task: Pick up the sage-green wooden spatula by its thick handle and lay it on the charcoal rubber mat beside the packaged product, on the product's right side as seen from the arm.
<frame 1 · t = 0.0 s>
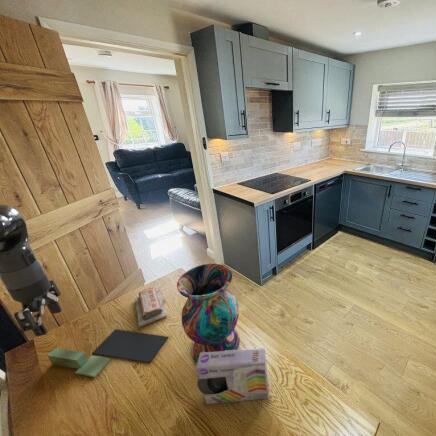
hand: (50, 322, 70), 20 cm above the table, tool pointing down, fingers open, 8 cm apart
packaged product: (150, 308, 102), on the table
cake pan box: (236, 395, 71), on the table
mat: (131, 345, 86), on the table
vase: (216, 344, 87), on the table
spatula: (78, 364, 79), on the table
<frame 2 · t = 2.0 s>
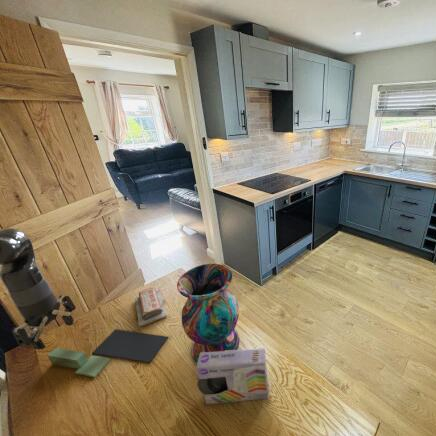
hand: (56, 335, 74), 13 cm above the table, tool pointing down, fingers open, 8 cm apart
nothing on the table moved.
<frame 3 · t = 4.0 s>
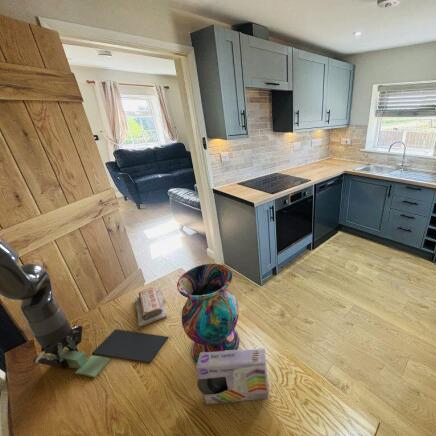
hand: (70, 361, 79), 1 cm above the table, tool pointing down, fingers closed on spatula, 3 cm apart
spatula: (78, 364, 79), on the table, touching gripper
everything else where it was.
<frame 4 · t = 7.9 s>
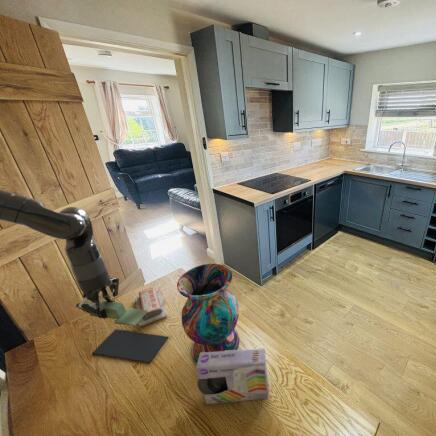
hand: (108, 313, 79), 16 cm above the table, tool pointing down, fingers closed on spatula, 3 cm apart
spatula: (116, 315, 79), point 15 cm above the table, touching gripper
everything else where it was.
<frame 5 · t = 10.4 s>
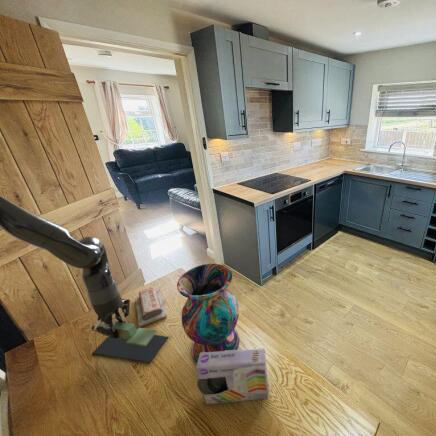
hand: (119, 333, 84), 6 cm above the table, tool pointing down, fingers closed on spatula, 3 cm apart
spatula: (128, 335, 84), point 5 cm above the table, touching gripper
everything else where it was.
when the fingers open (1 cm above the table, at t = 12.0 s): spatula stays where it is, resting on mat.
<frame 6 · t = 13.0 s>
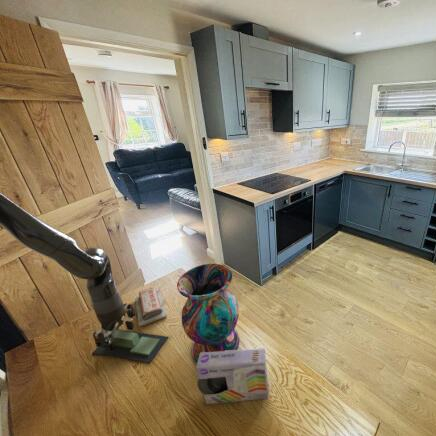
hand: (121, 338, 85), 3 cm above the table, tool pointing down, fingers open, 8 cm apart
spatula: (131, 344, 86), resting on mat
everything else where it was.
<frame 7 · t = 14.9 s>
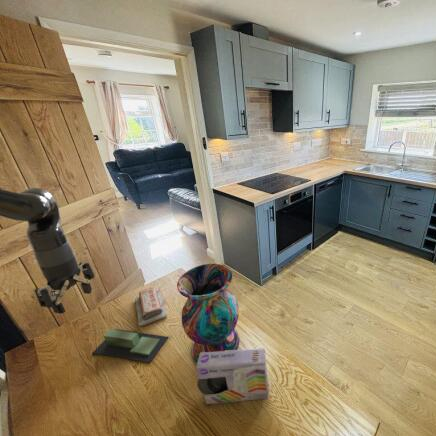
hand: (75, 302, 74), 23 cm above the table, tool pointing down, fingers open, 8 cm apart
nothing on the table moved.
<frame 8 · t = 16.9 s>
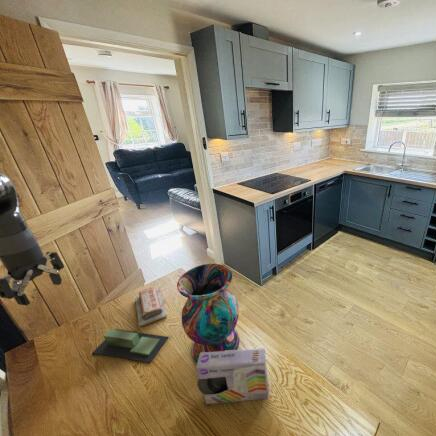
hand: (42, 293, 70), 28 cm above the table, tool pointing down, fingers open, 8 cm apart
nothing on the table moved.
at the end: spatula inside the target area on the table beside the packaged product (0.0 cm from its centre), point 0.6 cm above the table; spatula resting on mat; the gripper is holding nothing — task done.
